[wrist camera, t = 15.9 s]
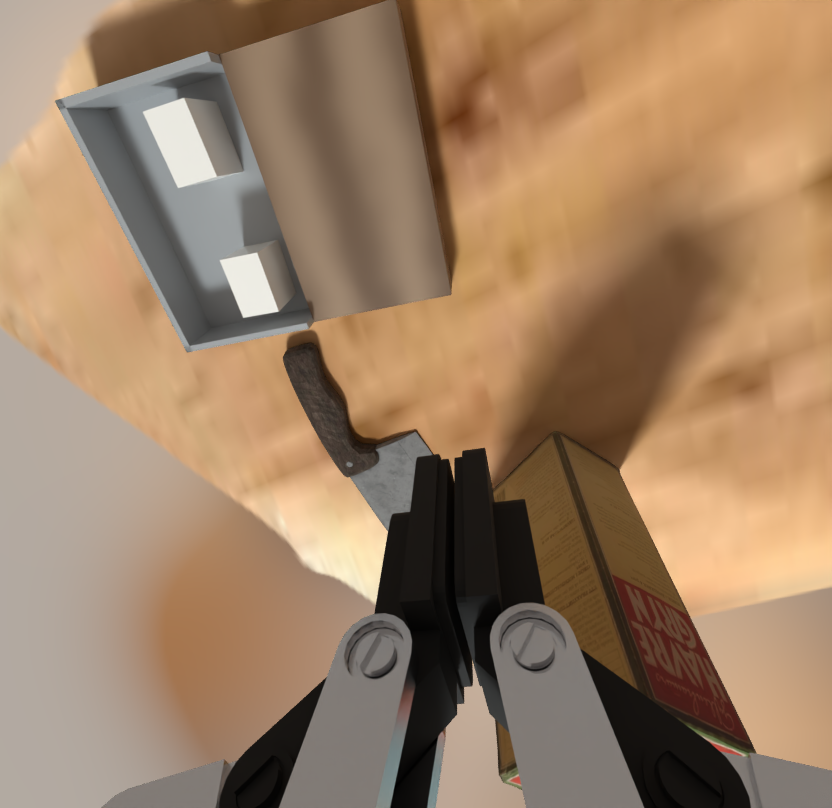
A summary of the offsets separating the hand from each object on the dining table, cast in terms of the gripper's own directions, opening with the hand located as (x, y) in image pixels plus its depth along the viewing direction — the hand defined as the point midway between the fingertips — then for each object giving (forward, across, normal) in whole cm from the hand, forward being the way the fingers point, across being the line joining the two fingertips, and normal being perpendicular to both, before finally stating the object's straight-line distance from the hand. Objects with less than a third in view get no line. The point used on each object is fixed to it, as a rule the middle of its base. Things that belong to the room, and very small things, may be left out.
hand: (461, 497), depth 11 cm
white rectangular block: (+26, +15, -11) cm, 32 cm away
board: (+29, +7, -6) cm, 30 cm away
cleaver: (+30, +12, +20) cm, 38 cm away
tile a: (+26, +14, -1) cm, 30 cm away
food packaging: (+29, -5, +27) cm, 40 cm away
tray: (+29, +18, -6) cm, 35 cm away
